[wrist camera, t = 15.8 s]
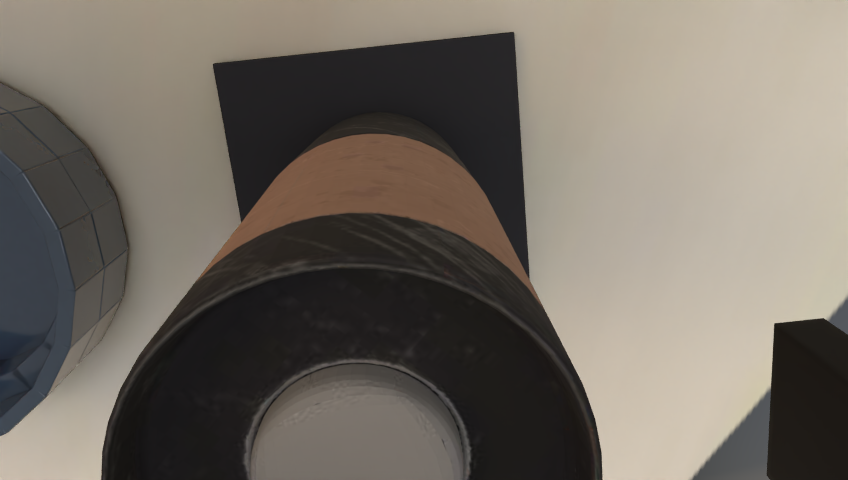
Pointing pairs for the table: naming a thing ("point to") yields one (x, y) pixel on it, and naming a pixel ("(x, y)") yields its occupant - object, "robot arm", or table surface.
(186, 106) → the table surface
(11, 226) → the bowl
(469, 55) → the mat
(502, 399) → the travel mug
